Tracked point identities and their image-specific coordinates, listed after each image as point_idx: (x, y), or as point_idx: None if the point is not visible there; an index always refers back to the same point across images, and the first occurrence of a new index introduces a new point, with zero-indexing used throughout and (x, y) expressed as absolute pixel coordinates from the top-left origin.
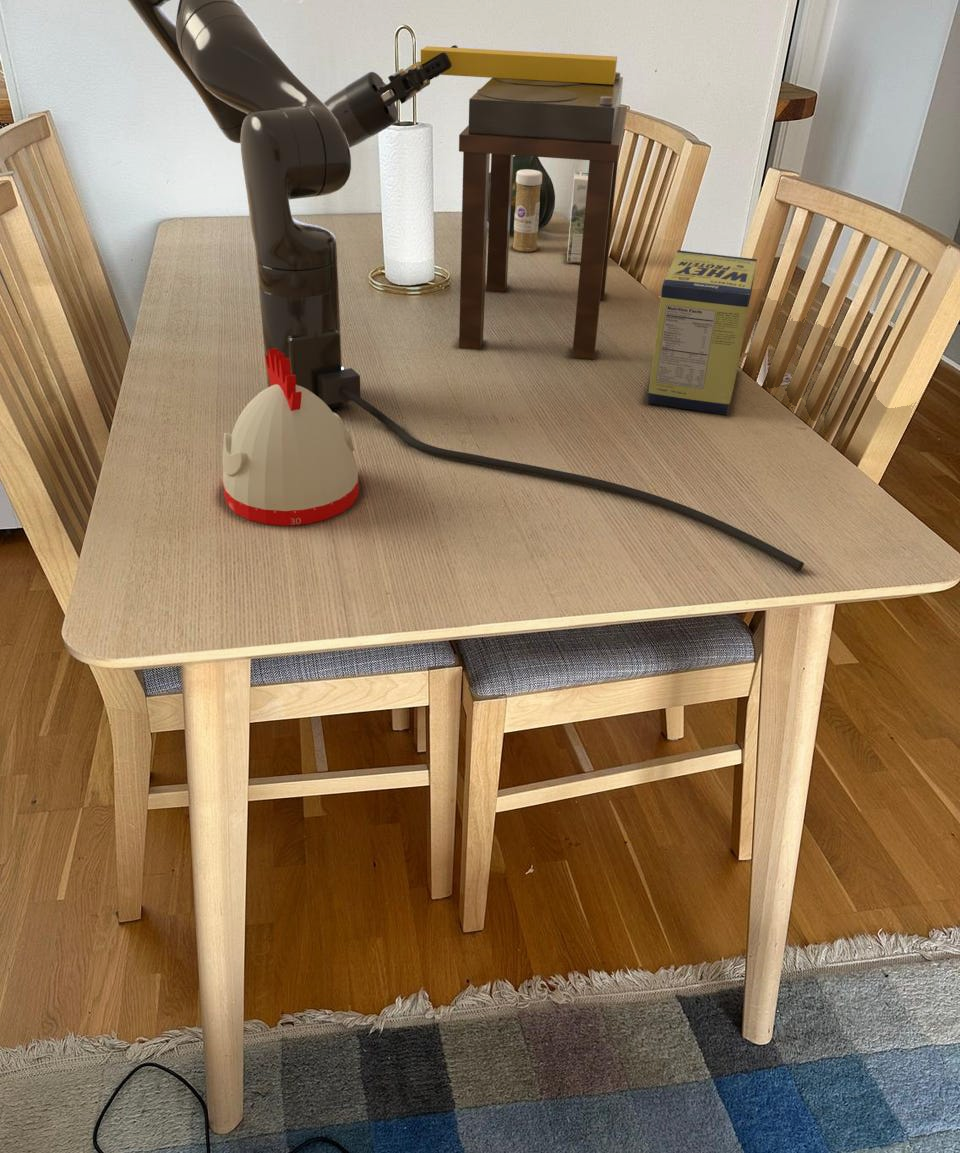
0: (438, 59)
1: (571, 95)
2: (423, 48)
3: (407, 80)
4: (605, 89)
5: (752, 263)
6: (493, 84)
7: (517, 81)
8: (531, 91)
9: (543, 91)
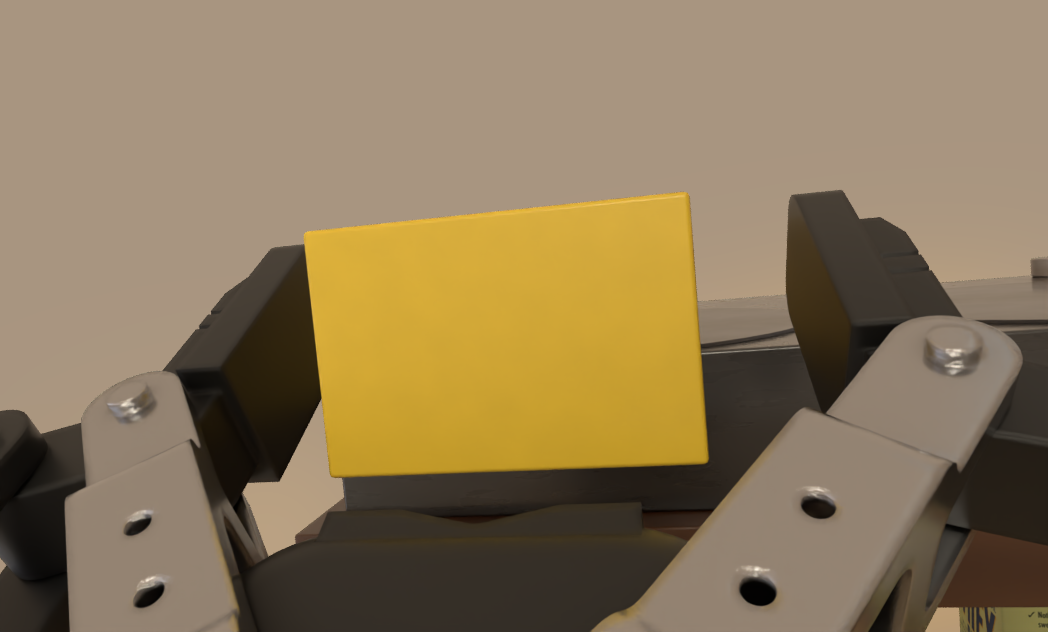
0: (900, 238)
1: (985, 286)
2: (547, 206)
3: (912, 596)
4: (758, 299)
5: None
6: None
7: (749, 326)
8: (1013, 298)
9: (972, 296)
